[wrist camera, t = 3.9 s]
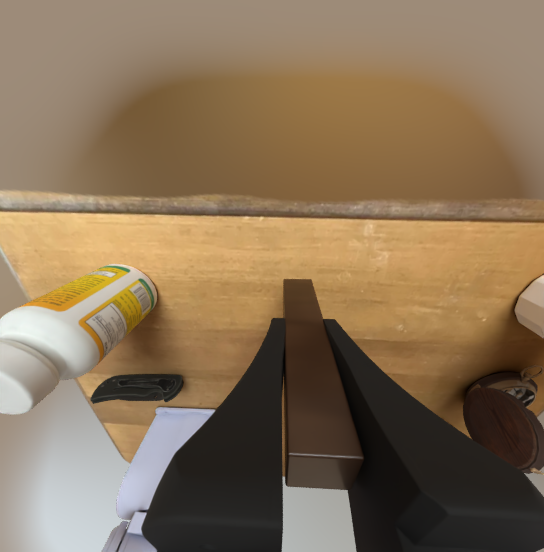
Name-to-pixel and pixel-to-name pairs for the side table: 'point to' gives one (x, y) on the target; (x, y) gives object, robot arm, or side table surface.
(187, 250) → the side table surface
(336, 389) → the stirring stick
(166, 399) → the folding knife
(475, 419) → the compass
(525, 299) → the white cup
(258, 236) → the side table surface
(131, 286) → the supplement bottle
